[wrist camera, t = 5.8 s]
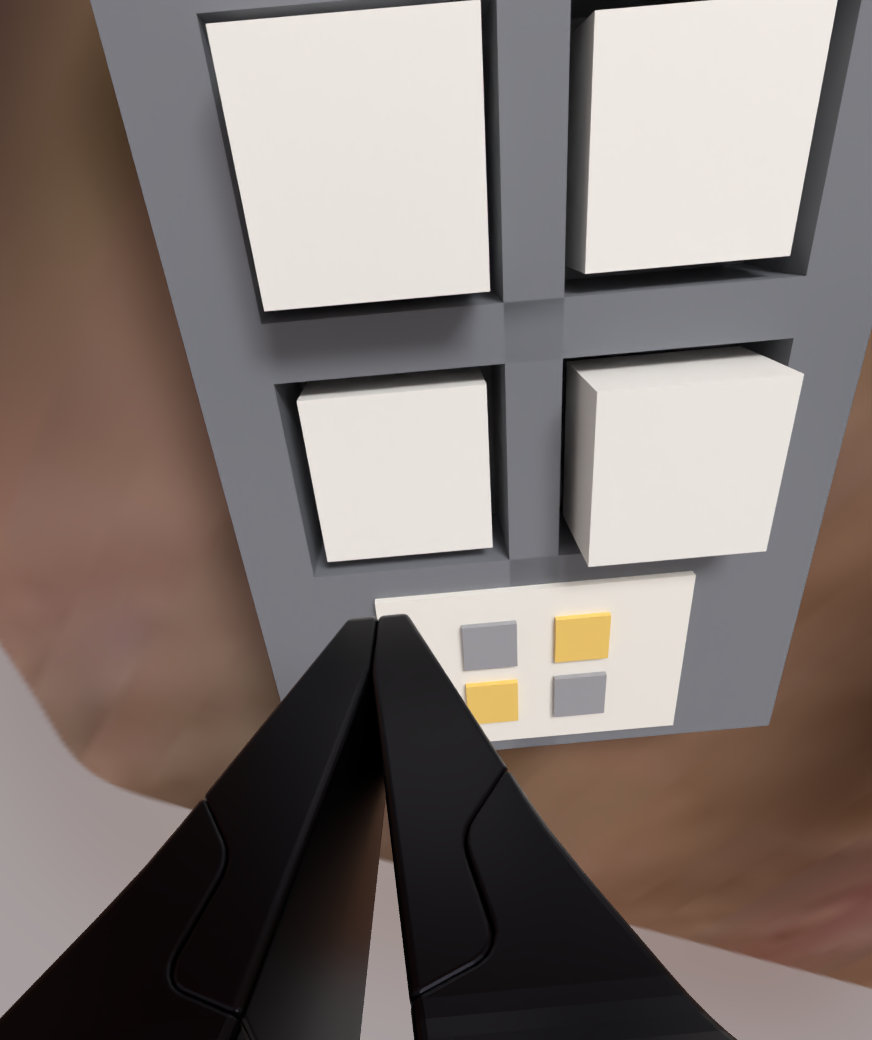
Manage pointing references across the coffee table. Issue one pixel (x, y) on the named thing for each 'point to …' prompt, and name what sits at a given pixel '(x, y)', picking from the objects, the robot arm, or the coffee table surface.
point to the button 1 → (359, 151)
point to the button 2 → (399, 462)
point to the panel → (510, 387)
